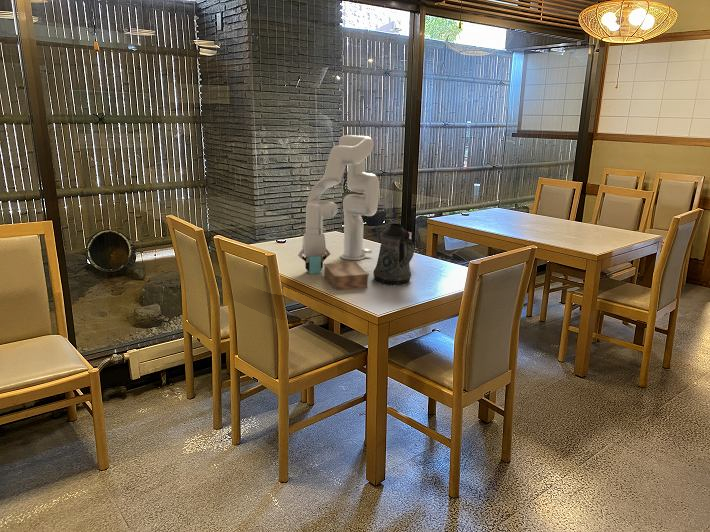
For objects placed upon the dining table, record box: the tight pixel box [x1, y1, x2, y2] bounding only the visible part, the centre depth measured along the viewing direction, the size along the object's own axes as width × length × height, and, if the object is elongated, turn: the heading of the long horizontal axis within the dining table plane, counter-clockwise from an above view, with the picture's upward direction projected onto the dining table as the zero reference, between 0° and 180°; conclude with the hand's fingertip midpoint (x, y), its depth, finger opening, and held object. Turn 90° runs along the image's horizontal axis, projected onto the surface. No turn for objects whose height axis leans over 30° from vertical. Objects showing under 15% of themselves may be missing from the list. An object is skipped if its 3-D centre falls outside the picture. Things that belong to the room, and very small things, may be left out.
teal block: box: [307, 256, 322, 275], centre depth 240 cm, size 5×5×8 cm
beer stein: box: [372, 223, 415, 286], centre depth 230 cm, size 16×19×25 cm
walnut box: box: [323, 261, 370, 290], centre depth 228 cm, size 15×19×6 cm
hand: (314, 269), depth 241 cm, fingers closed on teal block, 5 cm apart
